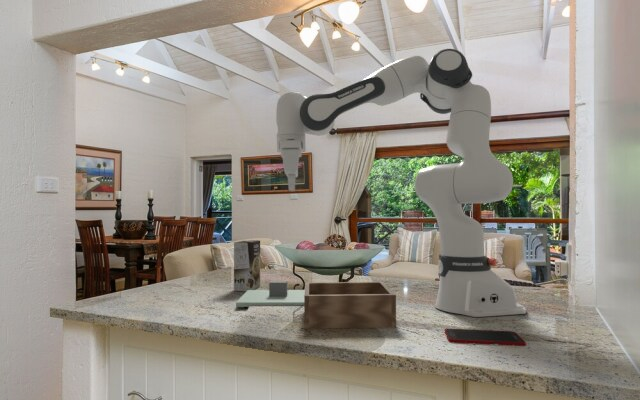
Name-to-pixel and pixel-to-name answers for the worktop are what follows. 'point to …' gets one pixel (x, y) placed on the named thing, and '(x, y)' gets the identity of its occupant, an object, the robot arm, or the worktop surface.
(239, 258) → the coffee box
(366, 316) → the box
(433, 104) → the robot arm
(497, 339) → the cell phone
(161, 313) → the worktop surface
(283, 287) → the lid
